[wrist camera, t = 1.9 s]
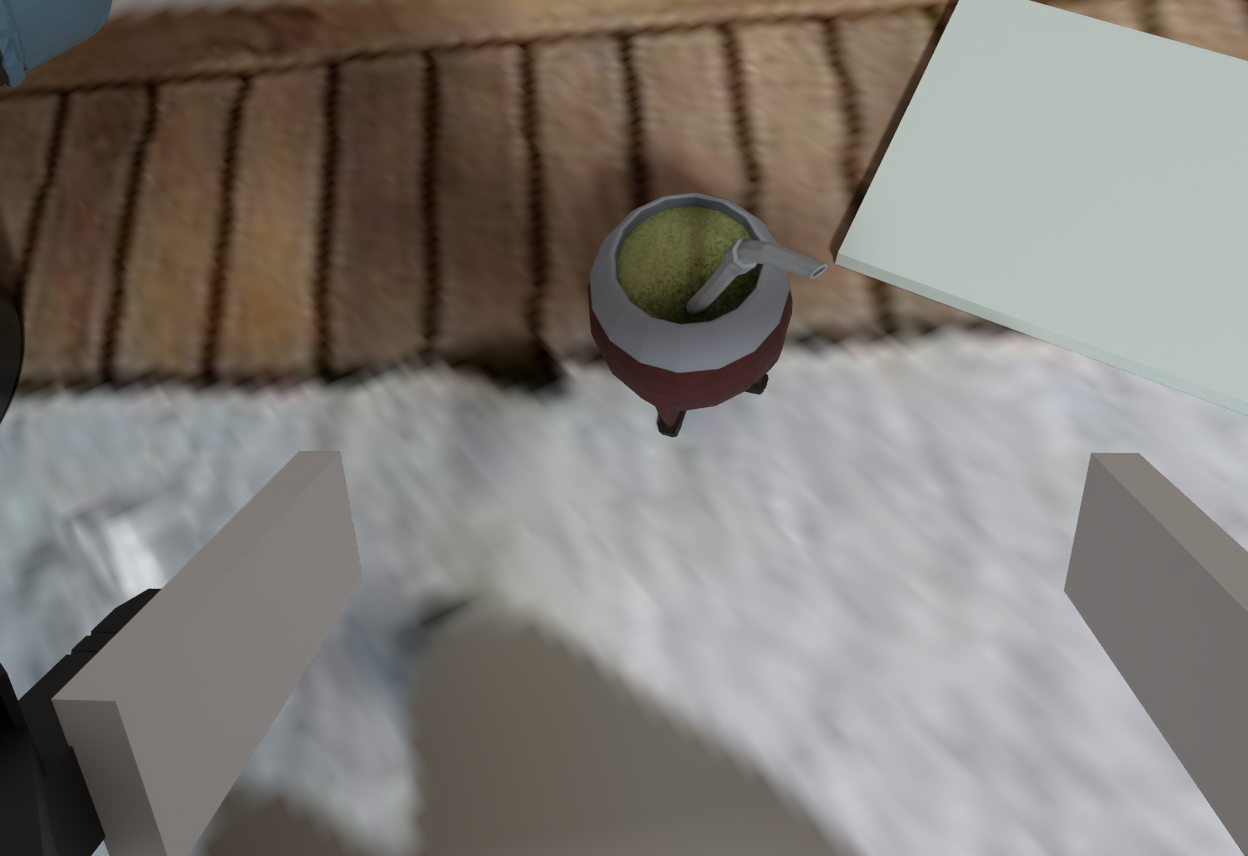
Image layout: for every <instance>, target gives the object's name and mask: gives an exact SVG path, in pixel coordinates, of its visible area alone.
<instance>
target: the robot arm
mask: <svg viewBox="0 0 1248 856" xmlns="http://www.w3.org/2000/svg"><path fill="white" fill-rule="evenodd" d="M111 4H112V0H0V86H2V85H5V84H6V85H7V86H10V87H11V88H14V87H16V86H19V85H20V84H21V83H22V82H23V81H24V80H25V79H26V76H27V72H29V71H31V70H32V69H34V68H36V67H38V66H40V65H42V64H43V63H45V62H47V61H49V60H51V59H52V58H54V57H56V56H58V55H60V54H62V53H63V52H65V51H67V50H69V49H71V48H73V47H74V46H76V45H78V44H80V43H82V42H83V41H85V40H87V39H89V38H90V37H92V36H93V35H95V34H96V33H97V32H98V31H99V30H100V29H101V28H102V27H103V25H104V24H105V22H106V20H107V17H108V14H109V11H110V8H111ZM20 352H21V334H20V324H19V318H18V314H17V310H16V307H15V304H14V302H13V299H12V297H11V295H10V293H9V291H8V289H7V288H6V286H5V285H4V283H3V282H2V280H1V279H0V419H1V417H2V415H3V413H4V411H5V409H6V406H7V404H8V401H9V399H10V396H11V393H12V390H13V388H14V384H15V380H16V377H17V372H18V367H19V361H20ZM362 581H363V574H362V569H361V563H360V558H359V552H358V547H357V541H356V536H355V530H354V525H353V519H352V513H351V508H350V502H349V497H348V491H347V486H346V480H345V475H344V469H343V464H342V458H341V453H340V451H300V452H299V453H298V454H297V455H295V456H294V457H293V458H292V459H291V460H290V461H289V462H288V463H287V464H286V465H285V466H284V467H283V468H282V469H281V470H280V471H279V472H278V473H277V474H276V475H275V476H274V477H273V478H272V479H271V480H270V481H269V482H268V483H267V484H266V485H265V486H264V487H263V488H262V489H261V490H260V491H259V492H258V493H257V494H256V495H255V496H254V497H253V498H252V499H251V500H250V501H249V502H248V503H247V504H246V505H245V506H244V507H243V508H242V509H241V510H240V511H239V512H238V513H237V514H236V515H235V516H234V517H233V518H232V519H231V520H230V521H229V522H228V523H227V524H226V525H225V526H224V527H223V528H222V529H221V530H220V531H219V532H218V533H217V534H216V535H215V536H214V537H213V538H212V539H211V540H210V541H209V542H208V543H207V544H206V545H205V546H204V547H203V548H202V549H201V550H200V551H199V552H198V553H197V554H196V555H195V556H194V557H193V558H192V559H191V560H190V561H189V562H188V563H187V564H186V565H185V566H184V567H183V568H182V569H181V570H180V571H179V572H178V573H177V574H176V575H175V576H174V577H173V578H172V579H171V580H170V581H169V582H168V583H167V584H166V585H165V586H164V587H163V588H162V589H148V590H146V591H144V592H142V593H141V594H139V595H137V596H136V597H134V598H132V599H130V600H129V601H127V602H125V603H124V604H122V605H120V606H118V607H117V608H115V609H114V610H113V611H112V612H111V613H110V614H109V615H108V616H107V617H106V618H105V619H103V620H102V621H101V622H100V623H99V624H98V625H97V626H96V627H95V628H94V629H93V630H92V631H91V636H86V637H85V638H84V639H82V640H81V641H80V642H79V643H78V644H77V645H76V646H75V647H74V648H73V649H72V653H71V655H66V656H65V657H64V658H63V659H61V660H60V661H59V662H58V663H57V664H56V665H55V666H54V667H53V668H52V669H51V670H50V671H49V672H48V673H47V674H46V675H45V676H44V677H43V678H41V679H40V680H39V681H38V682H37V683H36V684H35V685H34V686H33V687H32V688H31V689H30V690H29V691H28V692H27V693H26V694H25V695H24V696H23V697H22V698H20V699H19V700H17V697H16V695H15V692H14V690H13V687H12V684H11V682H10V679H9V677H8V674H7V672H6V671H5V669H4V667H3V666H2V664H1V663H0V856H91V855H92V854H93V853H94V851H95V850H96V849H97V848H98V846H99V845H100V844H101V842H102V841H103V840H104V842H105V845H106V847H107V850H108V853H109V855H110V856H188V855H189V853H190V852H191V850H192V848H193V847H194V845H195V844H196V842H197V841H198V839H199V837H200V836H201V834H202V833H203V831H204V830H205V828H206V826H207V825H208V823H209V822H210V820H211V819H212V817H213V815H214V814H215V812H216V811H217V809H218V808H219V806H220V804H221V803H222V801H223V800H224V798H225V797H226V795H227V793H228V792H229V790H230V789H231V787H232V786H233V784H234V782H235V781H236V779H237V778H238V776H239V775H240V773H241V771H242V770H243V768H244V767H245V765H246V764H247V762H248V760H249V759H250V757H251V756H252V754H253V753H254V751H255V749H256V748H257V746H258V745H259V743H260V742H261V740H262V738H263V737H264V735H265V734H266V732H267V731H268V729H269V727H270V726H271V724H272V723H273V721H274V720H275V718H276V716H277V715H278V713H279V712H280V710H281V709H282V707H283V705H284V704H285V702H286V701H287V699H288V698H289V696H290V694H291V693H292V691H293V690H294V688H295V687H296V685H297V683H298V682H299V680H300V679H301V677H302V676H303V674H304V672H305V671H306V669H307V668H308V666H309V665H310V663H311V661H312V660H313V658H314V657H315V655H316V654H317V652H318V650H319V649H320V647H321V646H322V644H323V643H324V641H325V639H326V638H327V636H328V635H329V633H330V632H331V630H332V628H333V627H334V625H335V624H336V622H337V621H338V619H339V617H340V616H341V614H342V613H343V611H344V610H345V608H346V606H347V605H348V603H349V602H350V600H351V599H352V597H353V595H354V594H355V592H356V591H357V589H358V588H359V586H360V584H361V583H362ZM1064 591H1065V593H1066V594H1067V596H1068V597H1069V599H1070V600H1071V602H1072V603H1073V604H1074V606H1075V607H1076V609H1077V610H1078V612H1079V613H1080V615H1081V616H1082V618H1083V619H1084V621H1085V622H1086V624H1087V625H1088V626H1089V628H1090V629H1091V631H1092V632H1093V634H1094V635H1095V637H1096V638H1097V640H1098V641H1099V643H1100V644H1101V646H1102V647H1103V648H1104V650H1105V651H1106V653H1107V654H1108V656H1109V657H1110V659H1111V660H1112V662H1113V663H1114V665H1115V666H1116V668H1117V669H1118V671H1119V672H1120V673H1121V675H1122V676H1123V678H1124V679H1125V681H1126V682H1127V684H1128V685H1129V687H1130V688H1131V690H1132V691H1133V693H1134V694H1135V695H1136V697H1137V698H1138V700H1139V701H1140V703H1141V704H1142V706H1143V707H1144V709H1145V710H1146V712H1147V713H1148V715H1149V716H1150V717H1151V719H1152V720H1153V722H1154V723H1155V725H1156V726H1157V728H1158V729H1159V731H1160V732H1161V734H1162V735H1163V737H1164V738H1165V740H1166V741H1167V742H1168V744H1169V745H1170V747H1171V748H1172V750H1173V751H1174V753H1175V754H1176V756H1177V757H1178V759H1179V760H1180V762H1181V763H1182V764H1183V766H1184V767H1185V769H1186V770H1187V772H1188V773H1189V775H1190V776H1191V778H1192V779H1193V781H1194V782H1195V784H1196V785H1197V787H1198V788H1199V789H1200V791H1201V792H1202V794H1203V795H1204V797H1205V798H1206V800H1207V801H1208V803H1209V804H1210V806H1211V807H1212V809H1213V810H1214V811H1215V813H1216V814H1217V816H1218V817H1219V819H1220V820H1221V822H1222V823H1223V825H1224V826H1225V828H1226V829H1227V831H1228V832H1229V833H1230V835H1231V836H1232V838H1233V839H1234V841H1235V842H1236V844H1237V845H1238V847H1239V848H1240V850H1241V851H1242V853H1243V854H1244V856H1248V552H1247V551H1246V550H1245V549H1244V548H1243V547H1242V546H1240V545H1239V544H1238V543H1237V542H1236V541H1235V540H1234V539H1233V538H1232V537H1231V536H1229V535H1228V534H1227V533H1226V532H1225V531H1224V530H1223V529H1222V528H1221V527H1219V526H1218V525H1217V524H1216V523H1215V522H1214V521H1213V520H1212V519H1211V518H1210V517H1208V516H1207V515H1206V514H1205V513H1204V512H1203V511H1202V510H1201V509H1200V508H1199V507H1197V506H1196V505H1195V504H1194V503H1193V502H1192V501H1191V500H1190V499H1189V498H1188V497H1186V496H1185V495H1184V494H1183V493H1182V492H1181V491H1180V490H1179V489H1178V488H1177V487H1175V486H1174V485H1173V484H1172V483H1171V482H1170V481H1169V480H1168V479H1167V478H1165V477H1164V476H1163V475H1162V474H1161V473H1160V472H1159V471H1158V470H1157V469H1156V468H1154V467H1153V466H1152V465H1151V464H1150V463H1149V462H1148V461H1147V460H1146V459H1145V458H1143V457H1142V456H1141V455H1140V454H1139V453H1091V457H1090V462H1089V467H1088V472H1087V477H1086V482H1085V487H1084V492H1083V497H1082V502H1081V507H1080V512H1079V517H1078V522H1077V527H1076V532H1075V537H1074V542H1073V548H1072V553H1071V558H1070V563H1069V568H1068V573H1067V578H1066V583H1065V588H1064Z"/></svg>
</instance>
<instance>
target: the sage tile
mask: <svg viewBox="0 0 1248 856" xmlns="http://www.w3.org/2000/svg"><path fill="white" fill-rule="evenodd" d="M835 264H837V265H840V266H843V267H846V268H848V269H851V270H854V271H856V272H859V273H862V274H865V275H867V276H870V277H873V278H875V279H878V280H881V281H884V282H886V283H889V284H892V285H894V286H897V287H900V288H903V289H905V290H908V291H911V292H913V293H916V294H919V295H922V296H924V297H927V298H930V299H932V300H935V301H938V302H941V303H943V304H946V305H949V306H952V307H954V308H957V309H960V310H962V311H965V312H968V313H971V314H973V315H976V316H979V317H981V318H984V319H987V320H990V321H992V322H995V323H998V324H1000V325H1003V326H1006V327H1009V328H1011V329H1014V330H1017V331H1019V332H1022V333H1025V334H1028V335H1030V336H1033V337H1036V338H1038V339H1041V340H1044V341H1047V342H1049V343H1052V344H1055V345H1058V346H1060V347H1063V348H1066V349H1068V350H1071V351H1074V352H1077V353H1079V354H1082V355H1085V356H1087V357H1090V358H1093V359H1096V360H1098V361H1101V362H1104V363H1106V364H1109V365H1112V366H1115V367H1117V368H1120V369H1123V370H1125V371H1128V372H1131V373H1134V374H1136V375H1139V376H1142V377H1144V378H1147V379H1150V380H1153V381H1155V382H1158V383H1161V384H1164V385H1166V386H1169V387H1172V388H1174V389H1177V390H1180V391H1183V392H1185V393H1188V394H1191V395H1193V396H1196V397H1199V398H1202V399H1204V400H1207V401H1210V402H1212V403H1215V404H1218V405H1221V406H1223V407H1226V408H1229V409H1231V410H1234V411H1237V412H1240V413H1242V414H1245V415H1248V61H1245V60H1241V59H1238V58H1234V57H1231V56H1227V55H1223V54H1220V53H1216V52H1213V51H1209V50H1205V49H1202V48H1198V47H1195V46H1191V45H1187V44H1184V43H1180V42H1177V41H1173V40H1170V39H1166V38H1162V37H1159V36H1155V35H1152V34H1148V33H1144V32H1141V31H1137V30H1134V29H1130V28H1126V27H1123V26H1119V25H1116V24H1112V23H1108V22H1105V21H1101V20H1098V19H1094V18H1090V17H1087V16H1083V15H1080V14H1076V13H1072V12H1069V11H1065V10H1062V9H1058V8H1054V7H1051V6H1047V5H1044V4H1040V3H1036V2H1033V1H1029V0H959V1H958V4H957V6H956V8H955V10H954V12H953V14H952V16H951V18H950V20H949V22H948V24H947V26H946V29H945V31H944V33H943V35H942V37H941V39H940V41H939V43H938V45H937V47H936V49H935V52H934V54H933V56H932V58H931V60H930V62H929V64H928V66H927V68H926V70H925V72H924V74H923V77H922V79H921V81H920V83H919V85H918V87H917V89H916V91H915V93H914V95H913V97H912V99H911V102H910V104H909V106H908V108H907V110H906V112H905V114H904V116H903V118H902V120H901V122H900V124H899V127H898V129H897V131H896V133H895V135H894V137H893V139H892V141H891V143H890V145H889V147H888V149H887V152H886V154H885V156H884V158H883V160H882V162H881V164H880V166H879V168H878V170H877V172H876V174H875V177H874V179H873V181H872V183H871V185H870V187H869V189H868V191H867V193H866V195H865V197H864V199H863V202H862V204H861V206H860V208H859V210H858V212H857V214H856V216H855V218H854V220H853V222H852V224H851V227H850V229H849V231H848V233H847V235H846V237H845V239H844V241H843V243H842V245H841V247H840V249H839V252H838V254H837V258H836V262H835Z"/></svg>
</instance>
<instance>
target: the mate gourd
mask: <svg viewBox="0 0 1248 856" xmlns="http://www.w3.org/2000/svg"><path fill="white" fill-rule="evenodd" d="M827 267H828V265H827V264H825V263H822V262H820V261H818V260H816V259H813V258H811V257H808V256H806V255H803V254H801V253H798V252H796V251H793V250H791V249H788V248H786V247H783V246H781V245H779V244H778V243H777V241H776V240H775V238H774V237H773V236H772V234H771V233H770V231H769V230H768V228H767V227H766V225H765V224H764V223H763V222H762V221H761V220H759V219H758V218H757V217H755V216H754V215H752V214H751V213H749V212H747V211H746V210H744V209H743V208H741V207H740V206H738V205H737V204H735V203H734V202H732V201H731V200H727V199H723V198H719V197H714V196H710V195H705V194H701V193H696V192H695V193H685V194H676V195H667V196H663V197H660V198H658V199H656V200H654V201H652V202H650V203H648V204H645V205H643V206H641V207H639V208H637V209H635V210H633V211H631V212H630V213H629V214H628V215H627V216H626V217H625V218H624V219H623V220H622V221H621V222H620V223H619V224H618V225H617V226H616V227H615V229H614V230H613V231H612V232H611V233H610V234H609V235H608V236H607V237H606V238H605V239H604V240H603V242H602V244H601V247H600V249H599V252H598V254H597V257H596V259H595V262H594V264H593V267H592V270H591V272H590V282H589V285H588V297H589V311H590V325H591V334H592V336H593V338H594V340H595V342H596V344H597V346H598V348H599V350H600V352H601V353H602V355H603V357H604V359H605V361H606V363H607V364H608V366H609V368H610V370H611V372H612V374H614V375H615V376H616V377H617V378H618V379H619V380H621V381H622V382H623V383H624V384H625V385H627V386H628V387H629V388H630V389H631V390H632V391H634V392H635V393H636V394H637V395H638V396H640V397H641V398H642V399H644V400H645V401H647V402H649V403H651V404H652V405H654V406H655V407H656V409H657V411H658V414H659V415H660V417H661V419H660V423H659V428H658V429H659V432H660V433H661V434H663V435H666V436H670V437H676V436H677V435H678V433H679V430H680V428H681V426H682V422H683V419H684V416H685V413H686V410H692V409H698V408H705V407H711V406H716V405H718V404H720V403H722V402H724V401H726V400H728V399H730V398H732V397H734V396H736V395H738V394H740V393H742V392H744V391H745V392H749V393H754V394H759V395H760V394H761V393H762V392H763V391H764V389H765V388H766V385H767V382H768V375H767V374H766V373H767V372H768V371H769V370H770V369H771V368H772V367H773V366H774V364H775V363H776V362H777V361H778V358H779V356H780V354H781V351H782V348H783V344H784V340H785V335H786V332H787V328H788V325H789V321H790V318H791V315H792V296H791V291H790V284H789V278H788V272H791V273H794V274H797V275H800V276H804V277H807V278H810V279H814V278H816V277H818V276H819V275H821V274H822V273H823V272H824V271H825V270H826V269H827ZM787 271H788V272H787Z"/></svg>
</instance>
